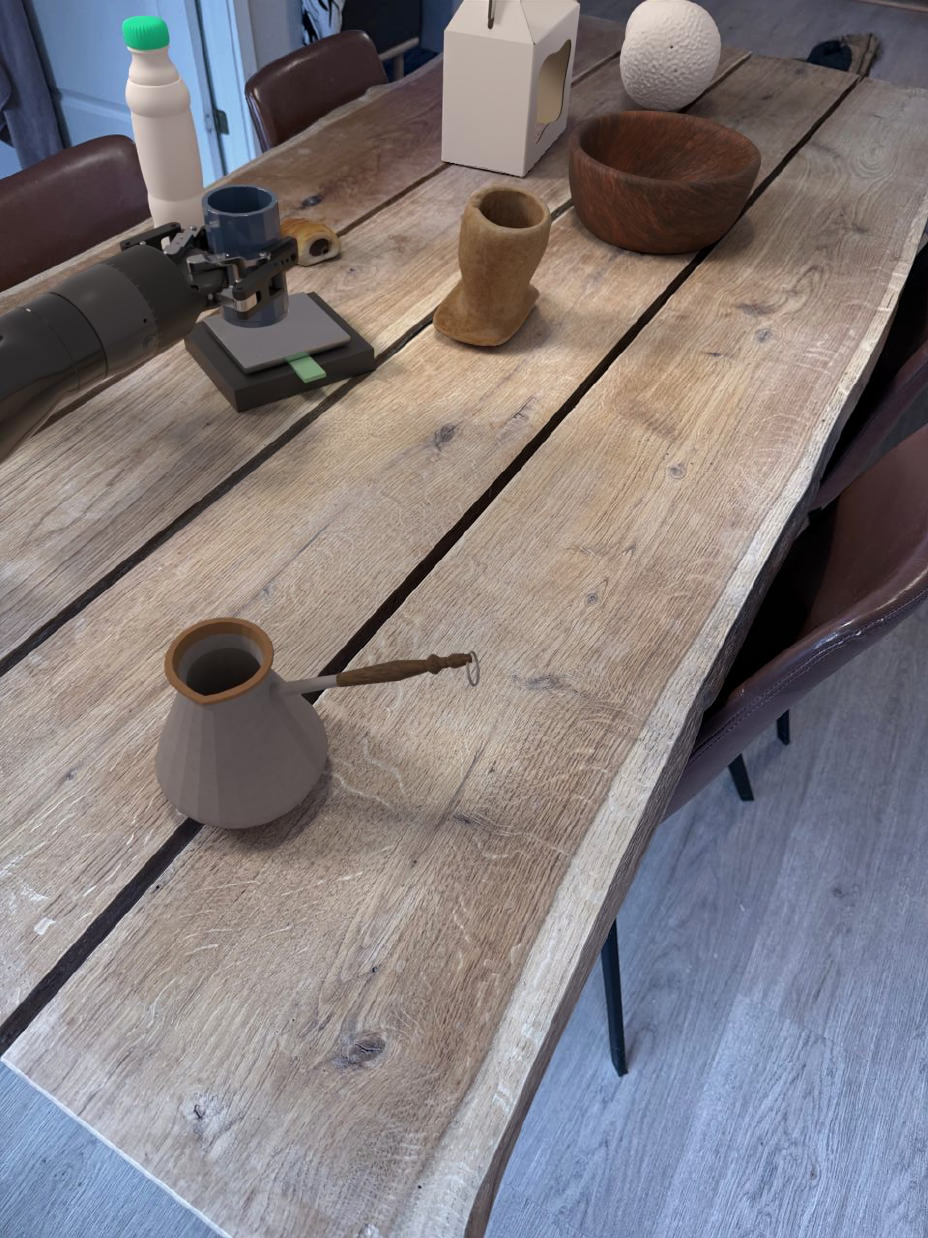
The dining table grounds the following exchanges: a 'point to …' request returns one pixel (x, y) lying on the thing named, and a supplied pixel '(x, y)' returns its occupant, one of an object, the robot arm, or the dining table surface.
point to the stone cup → (495, 265)
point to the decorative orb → (669, 53)
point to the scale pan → (279, 336)
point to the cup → (245, 238)
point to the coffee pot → (251, 723)
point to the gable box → (506, 81)
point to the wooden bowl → (659, 179)
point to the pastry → (311, 240)
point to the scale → (280, 366)
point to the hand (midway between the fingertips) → (264, 236)
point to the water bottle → (163, 126)
